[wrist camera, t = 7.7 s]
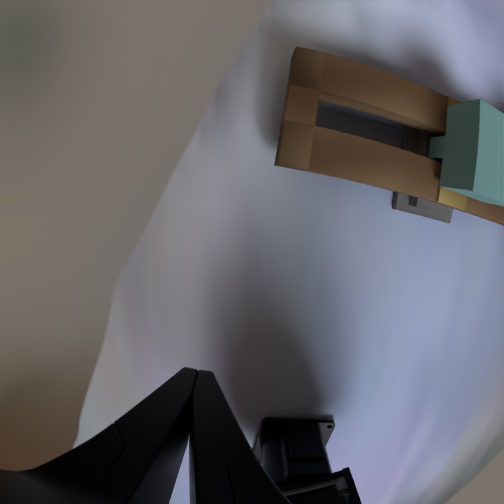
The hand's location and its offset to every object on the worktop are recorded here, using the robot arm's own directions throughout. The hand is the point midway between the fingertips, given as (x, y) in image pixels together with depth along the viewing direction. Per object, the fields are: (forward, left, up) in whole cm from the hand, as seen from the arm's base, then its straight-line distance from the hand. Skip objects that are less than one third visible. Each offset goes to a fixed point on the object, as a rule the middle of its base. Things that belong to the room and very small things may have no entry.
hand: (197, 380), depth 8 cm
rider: (+10, -13, -10) cm, 20 cm away
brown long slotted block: (+10, -13, -12) cm, 20 cm away
